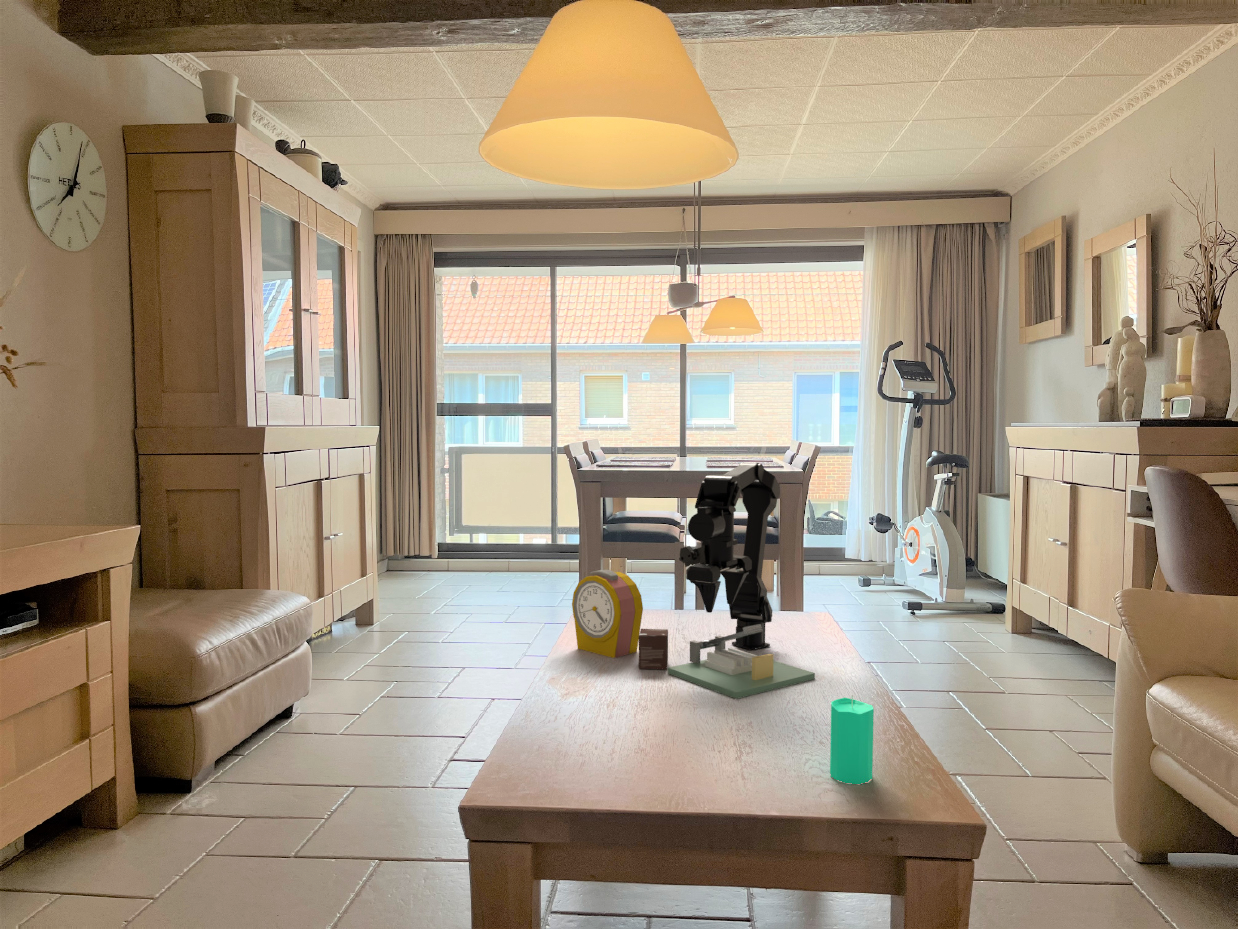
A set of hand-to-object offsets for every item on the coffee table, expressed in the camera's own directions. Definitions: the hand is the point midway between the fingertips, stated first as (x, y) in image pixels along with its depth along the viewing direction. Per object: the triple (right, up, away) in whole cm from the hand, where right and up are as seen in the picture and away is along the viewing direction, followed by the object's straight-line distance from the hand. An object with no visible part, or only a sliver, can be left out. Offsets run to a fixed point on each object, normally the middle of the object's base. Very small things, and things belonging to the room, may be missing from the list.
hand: (719, 608), depth 177 cm
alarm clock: (-24, -12, +13) cm, 30 cm away
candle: (+12, -15, -56) cm, 59 cm away
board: (+3, -13, -7) cm, 15 cm away
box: (-14, -13, 0) cm, 19 cm away
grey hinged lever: (+2, -6, -4) cm, 8 cm away
